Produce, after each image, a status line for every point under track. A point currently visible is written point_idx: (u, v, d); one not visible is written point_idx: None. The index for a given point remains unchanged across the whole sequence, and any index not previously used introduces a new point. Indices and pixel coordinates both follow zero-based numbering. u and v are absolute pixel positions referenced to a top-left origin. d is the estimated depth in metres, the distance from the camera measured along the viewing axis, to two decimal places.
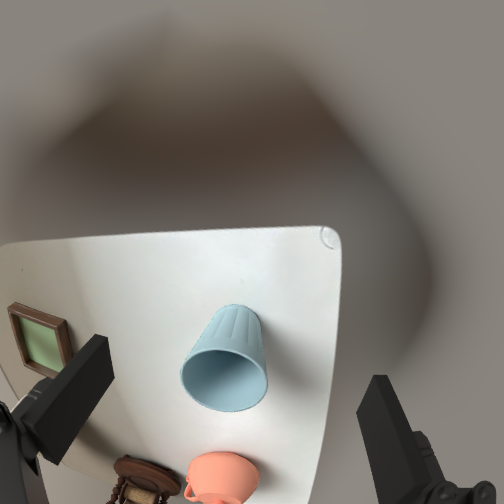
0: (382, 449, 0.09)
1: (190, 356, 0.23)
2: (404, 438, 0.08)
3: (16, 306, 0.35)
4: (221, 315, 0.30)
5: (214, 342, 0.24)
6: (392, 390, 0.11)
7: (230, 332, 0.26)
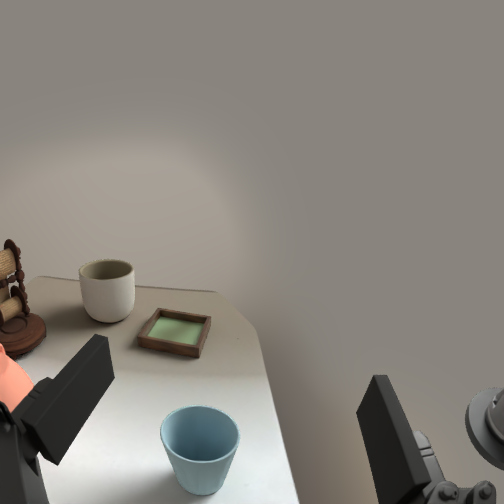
0: (382, 449, 0.09)
1: (228, 415, 0.27)
2: (404, 438, 0.08)
3: (209, 324, 0.61)
4: None
5: None
6: (392, 390, 0.11)
7: None
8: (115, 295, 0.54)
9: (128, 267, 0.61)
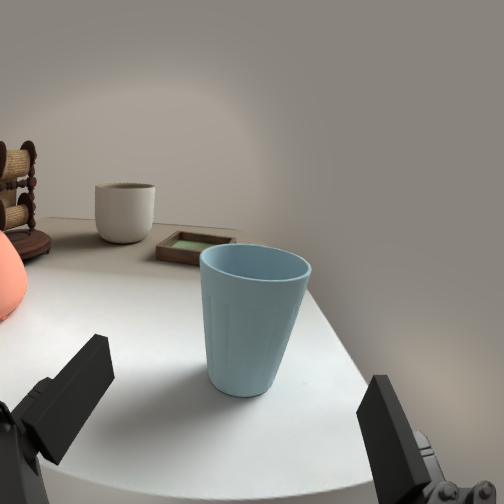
0: (382, 449, 0.09)
1: (288, 252, 0.23)
2: (404, 438, 0.08)
3: None
4: None
5: None
6: (392, 390, 0.11)
7: None
8: (133, 207, 0.50)
9: (148, 188, 0.58)
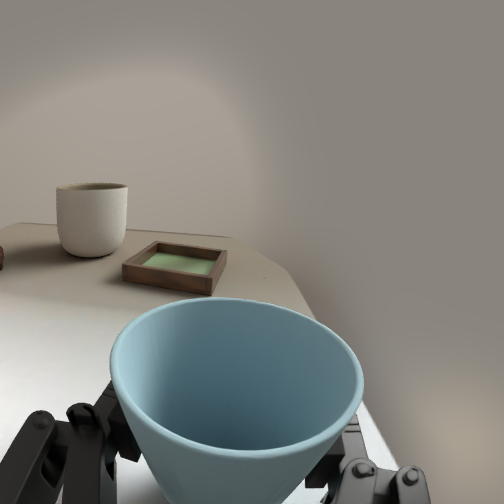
0: None
1: (308, 317, 0.11)
2: None
3: (225, 260, 0.45)
4: None
5: None
6: None
7: None
8: (98, 213, 0.38)
9: None
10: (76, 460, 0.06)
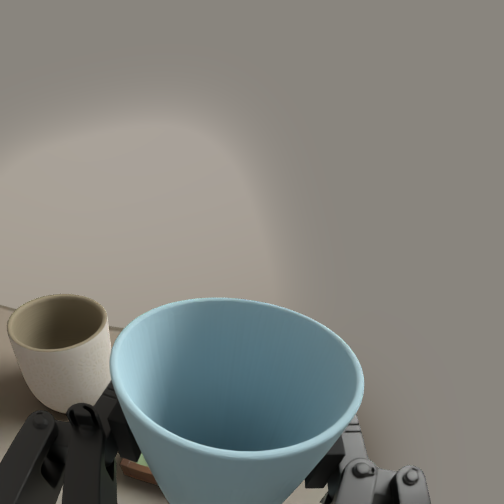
0: None
1: (308, 318, 0.11)
2: None
3: None
4: None
5: None
6: None
7: None
8: (70, 377, 0.23)
9: (99, 313, 0.30)
10: (76, 460, 0.06)
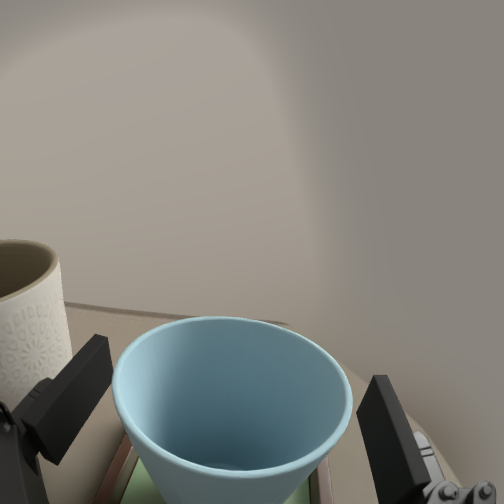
0: (382, 449, 0.09)
1: (302, 337, 0.11)
2: (404, 438, 0.08)
3: None
4: None
5: None
6: (392, 390, 0.11)
7: None
8: None
9: (49, 263, 0.16)
10: None
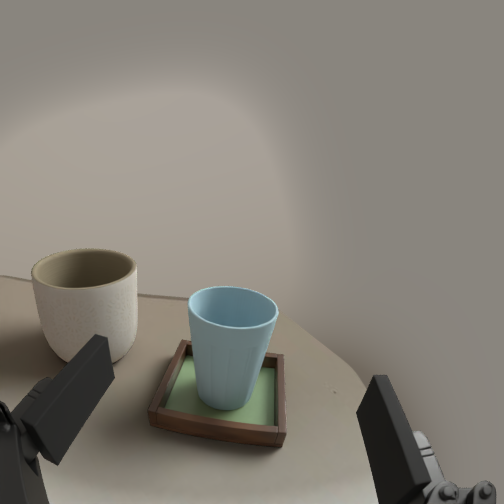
0: (382, 449, 0.09)
1: (262, 294, 0.27)
2: (404, 438, 0.08)
3: None
4: None
5: None
6: (392, 390, 0.11)
7: None
8: (98, 320, 0.25)
9: (126, 263, 0.32)
10: None
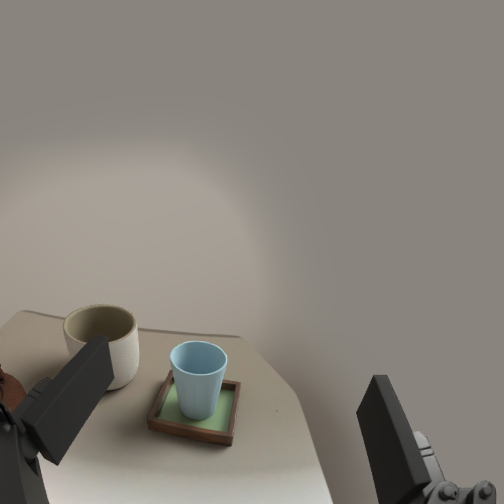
0: (383, 449, 0.09)
1: (219, 347, 0.40)
2: (404, 438, 0.08)
3: (239, 393, 0.44)
4: None
5: None
6: (392, 390, 0.11)
7: (222, 378, 0.38)
8: (113, 362, 0.37)
9: (129, 318, 0.45)
10: None
